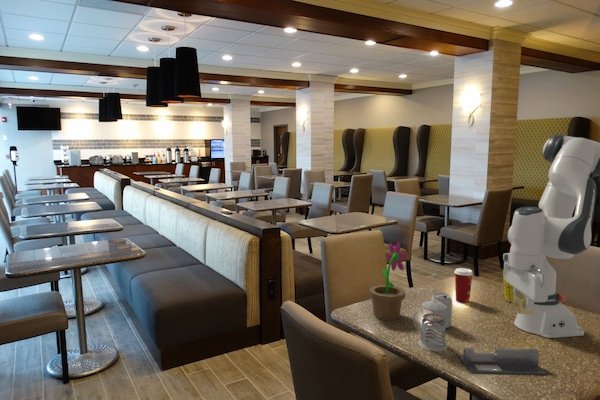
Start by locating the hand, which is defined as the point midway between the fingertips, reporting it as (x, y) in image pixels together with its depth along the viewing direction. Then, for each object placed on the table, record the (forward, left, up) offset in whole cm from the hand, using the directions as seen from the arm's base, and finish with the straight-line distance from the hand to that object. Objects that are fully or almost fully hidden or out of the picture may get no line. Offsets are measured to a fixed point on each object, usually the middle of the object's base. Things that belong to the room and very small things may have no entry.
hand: (523, 305), depth 125 cm
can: (+16, -29, -19) cm, 38 cm away
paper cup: (-1, -56, -19) cm, 59 cm away
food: (-24, -57, -19) cm, 65 cm away
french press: (+24, -13, -19) cm, 33 cm away
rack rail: (+6, 0, -19) cm, 20 cm away
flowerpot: (+35, -38, -19) cm, 55 cm away
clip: (0, 0, -2) cm, 2 cm away
